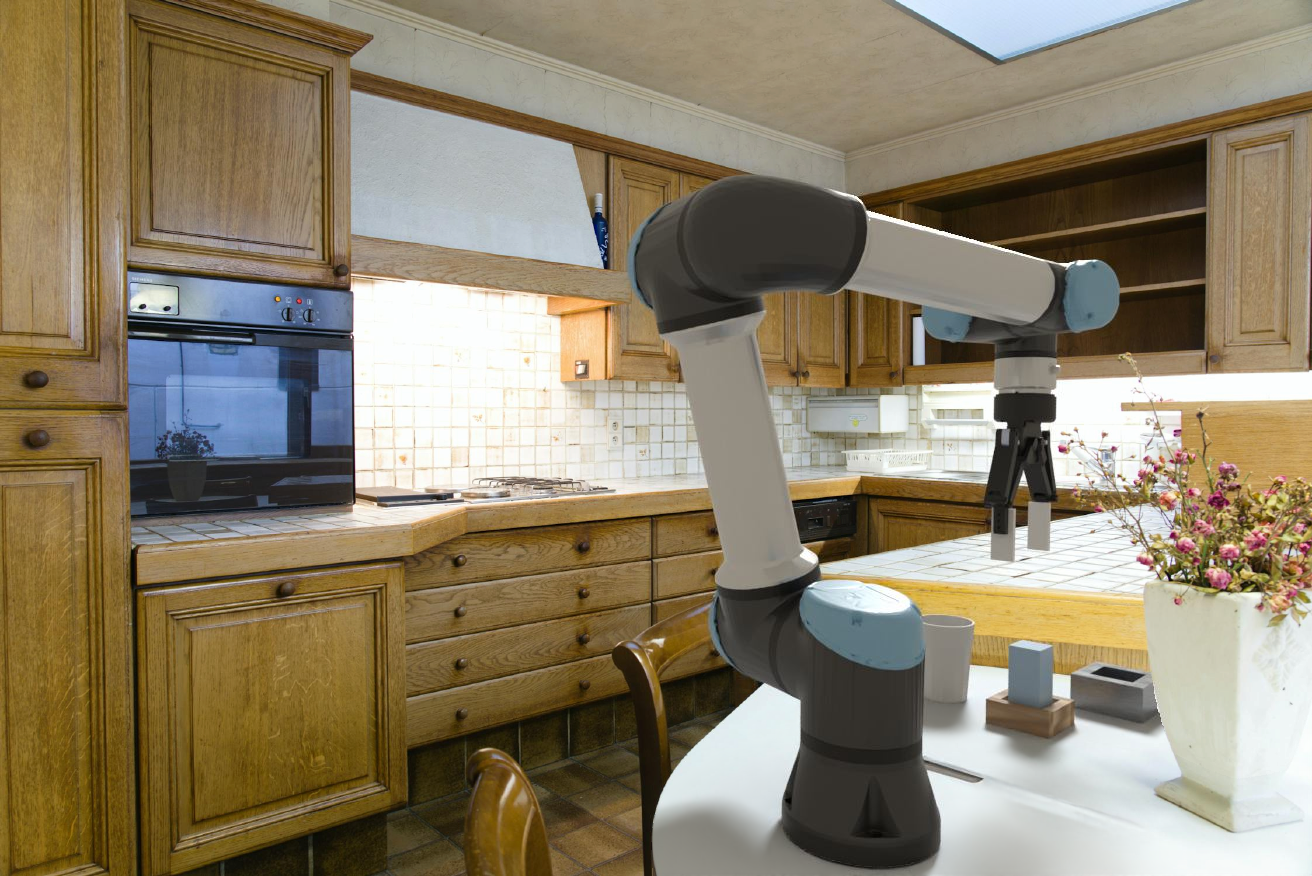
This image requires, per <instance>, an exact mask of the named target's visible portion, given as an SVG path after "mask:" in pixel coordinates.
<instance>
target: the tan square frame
mask: <svg viewBox="0 0 1312 876" xmlns="http://www.w3.org/2000/svg"><path fill="white" fill-rule="evenodd" d="M1075 710H1076V708H1075V700H1072V699H1070V698H1067V697H1064V696H1058V695H1054V694H1053V697H1052V705H1050V706H1048V707H1046V708H1044V709H1039V708H1035V707H1031V706H1027V705H1023V704H1019V703H1015V702H1011V701H1008V688H1006V689H1004V690H1002V691H1000V692H997V693H996V694H995V693H994V694H993V695H991V696H988V697H987V698H985V723H986V724H991V725H994V726H998V727H1002V728H1006V729H1010V730H1013V731H1016V732H1017V731H1018V732H1021V733H1025V734H1028V735H1032V736H1036V737H1039V738H1044V739H1046V740H1047V739H1048V740H1050V739H1052V738H1053V737H1054V736H1056V735H1058V734H1060V733H1061V732H1063V731H1065V730H1066V729H1068V728H1069V727H1071V726H1073V725H1075Z"/></svg>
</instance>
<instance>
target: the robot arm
mask: <svg viewBox="0 0 1312 876" xmlns="http://www.w3.org/2000/svg"><path fill="white" fill-rule="evenodd" d="M626 273H627V277H628V281H629V284H630V286H631V289H632V291H633V293H634V295H635V297H636V298H637V299H638V301H639V302H640V303H641V304H643V305H644V306H645V307H646V308H648V309H649V310H650V311H652V313H653V314H654V319H655V323H656V327H657V331H658V335H659V338H660V339H661V340H663V341H665V342H666V343H667V344H669V345H670V346H672V347H674V348H675V350H676V351H677V352H676V353H677V355H678V359H679V365H680V369H681V372H682V377H683V381H684V385H685V390H686V395H687V399H688V404H689V409H690V413H691V418H692V422H693V426H694V430H695V435H696V439H697V443H698V448H699V453H700V456H701V457H700V458H701V461H702V465H703V471H704V474H705V479H706V483H707V484H706V485H707V487H708V492H709V498H710V501H711V504H712V505H711V506H712V509H713V510H712V511H713V514H714V519H715V523H716V527H717V533H718V537H719V541H720V545H721V550H722V555H723V558H724V559H723V562H722V563H721V564H720V566H719V568H718V569H717V571H716V572H715V575H714V582H715V585H716V590H715V593H714V599H713V601H712V602H711V603H710V604H709V609H708V611H709V612H708V629H709V634H710V636H711V639H712V643H713V645H714V647H715V649H716V650H717V652H718V653H719V654H720V656H721V657H722V659H724V660H725V662H727V663H728V665H730V666H732V667H733V668H735V669H736V670H737V671H738V672H740V673H741V674H742V675H744V676H747V677H749V678H751V679H752V680H754V681H757V682H761V683H764V684H766V685H768V686H770V687H772V688H774V689H777V690H778V691H781V693H784V694H787V695H789V696H791V697H792V698H794V699H797V700H799V701H800V706H799V707H800V711H799V712H800V715H799V717H800V719H799V720H800V722H799V725H800V726H799V731H800V733H799V734H800V736H799V741H800V742H799V748H798V751H797V754H796V757H795V760H794V763H793V764H792V765H793V766H792V768H791V770H790V775H789V776H788V780H787V783H786V787H785V790H784V792H783V794H782V799H781V821H780V822H781V827H782V829H783V832H784V833H785V834H786V836H787V838H788V839H789V840H791V842H793V843H794V844H796V845H797V846H798V847H799V848H801V849H803V850H805V851H807V852H808V853H811V854H812V855H815V856H818V857H820V858H822V859H826V860H828V861H832V862H836V863H840V864H845V865H851V866H856V867H857V866H858V867H863V868H864V867H865V868H866V867H867V868H894V867H895V868H896V867H903V866H909V865H913V864H916V863H919V862H922V861H925V860H926V859H928V858H930V857H931V856H933V855H934V854H935V853H936V852H937V851H938V849H939V848H940V846H941V843H942V842H941V841H942V840H941V839H942V838H941V837H942V834H941V832H942V823H941V822H942V819H941V818H942V817H941V813H940V810H939V806H938V805H937V801H936V798H935V794H934V790H933V786H932V784H931V780H930V776H929V774H928V770H927V769H926V767H925V764H924V761H923V759H924V757H923V736H924V735H923V733H924V731H923V730H924V703H925V702H924V701H925V698H924V672H925V653H926V651H925V648H926V643H925V639H924V636H923V618H922V615H923V614H922V611H921V609H920V608H919V606H918V605H917V603H916V602H915V601H913V600H912V599H911V598H910V597H909V596H907V595H905V594H904V593H902V592H899V591H898V590H894V589H893V588H890V587H886V586H883V585H880V584H876V583H864V582H862V581H861V580H860V581H859V580H853V579H823V576H822V572H821V566H820V561H819V557H818V555H817V554H816V553H815V552H813V551H811V550H810V549H809V548H807V547H806V546H803V544H802V543H801V539H800V534H799V529H798V526H797V520H796V516H795V513H794V511H795V510H794V506H793V502H792V497H791V493H790V487H789V484H788V477H787V474H786V469H785V464H784V459H783V455H782V450H781V446H780V441H779V436H778V435H779V434H778V431H777V426H776V423H775V418H774V412H773V407H772V404H771V403H772V402H771V398H770V394H769V389H768V385H767V381H766V375H765V370H764V366H763V361H762V356H761V352H760V346H759V342H758V338H757V337H758V336H757V329H758V327H759V326H760V324H761V322H762V321H763V319H764V318H765V316H766V315H767V310H766V306H765V301H764V296H765V295H770V294H771V295H772V294H779V293H788V292H789V293H790V292H805V293H813V294H818V295H822V296H823V295H824V296H833V295H836V294H838V293H840V292H842V291H843V290H844V289H845V290H848V291H849V290H851V291H854V292H860V293H863V294H868V295H873V296H874V295H875V296H878V297H882V298H883V297H884V298H888V299H892V300H897V301H902V302H906V303H911V304H916V305H919V306H920V305H921V321H922V324H923V328H924V329H925V331H926V332H927V333H928V334H929V335H930V337H932V338H935V339H937V340H942V341H947V342H948V341H949V342H950V343H952V344H954V343H956V342H959V343H976V344H990V345H994V365H993V366H994V369H993V370H994V371H993V389H994V390H996V391H998V393H996V394H995V396H993V421H994V422H996V423H1006V428H996V429H995V440H994V450H993V455H992V457H991V458H992V459H991V464H990V469H989V474H988V477H987V483H986V488H985V493H984V498H983V507H984V508H991V519H990V521H991V522H990V560H992V561H993V560H995V561H1002V562H1004V561H1005V562H1009V563H1010V562H1015V560H1016V554H1015V553H1016V523H1017V522H1016V521H1017V520H1016V515H1017V512H1016V511H1017V508H1013V506H1014V503H1015V500H1016V496H1017V493H1018V489H1019V486H1020V484H1021V479H1022V476H1023V473H1024V476H1025V480H1026V481H1025V482H1026V484H1027V488H1028V491H1029V494H1030V499H1031V501H1028V503H1027V504H1028V505H1027V506H1028V507H1027V541H1026V542H1027V547H1026V548H1027V550H1031V551H1032V550H1033V551H1040V552H1041V551H1042V552H1043V551H1044V552H1050V550H1051V517H1052V516H1051V512H1052V511H1051V509H1052V506H1051V505H1052V503H1058V501H1059V495H1058V491H1057V486H1056V485H1057V483H1056V477H1055V472H1054V471H1055V469H1054V462H1053V455H1052V450H1051V449H1052V447H1051V434H1052V433H1051V431H1050V429H1042V424H1043V423H1044V424H1046V423H1047V424H1052V423H1054V422H1055V421H1056V419H1057V396H1056V395H1055V394H1054V393H1052V391H1053V390H1056V389H1057V376H1058V375H1057V374H1060V373H1061V371H1062V367H1061V366H1060V365H1057V364H1058V352H1057V350H1058V349H1057V348H1058V334H1067V333H1075V334H1080V333H1081V332H1083V331H1084V332H1085V331H1089V330H1095V329H1096V330H1097V329H1101V328H1103V327H1105V326H1106V325H1107V324H1109V323H1110V322H1112V320H1113V319H1114V317H1115V315H1116V314H1117V312H1118V309H1119V306H1120V294H1121V289H1120V288H1121V287H1120V283H1119V279H1118V277H1117V275H1116V274H1117V273H1115V271H1114V270H1113V268H1112V267H1111V266H1110V265H1108V264H1107V263H1106V262H1104V261H1102V260H1099V259H1088V260H1080V259H1078V260H1074V261H1072V262H1069V263H1059V262H1055V261H1052V260H1051V261H1050V260H1047V259H1042V258H1038V257H1034V256H1031V255H1027V254H1023V253H1020V252H1017V251H1013V250H1011V249H1010V250H1009V249H1005V248H1002V247H998V246H995V245H991V244H987V243H984V242H980V241H977V240H974V239H969V238H966V237H963V236H959V235H955V234H951V233H948V232H945V231H939V230H938V229H933V228H930V227H926V226H922V225H919V224H915V223H910V222H908V221H904V220H901V219H897V218H893V217H891V216H890V217H889V216H886V215H883V214H879V213H875V212H873V211H872V212H871V211H869V210H867V208H866V206H865V204H864V202H862V200H861V199H859V198H858V197H857V196H854V195H853V194H849V193H845V192H842V191H838V190H835V189H831V188H828V187H824V186H820V185H815V184H811V183H808V182H804V181H799V180H797V179H796V180H795V179H789V178H782V177H779V176H777V177H776V176H772V175H763V174H737V175H731V176H725V177H723V178H719V179H717V180H715V181H713V182H711V183H709V184H708V185H706V186H704V187H702V188H699V189H698V190H695V191H692V192H691V193H687V194H686V195H684V196H681V197H680V198H677V199H675V200H672V201H669V202H667V203H664V204H663V205H662V206H660V207H658V208H657V209H656V210H655V211H653V213H651V214H650V215H649V216H648V217H647V218H645V219H644V220H643V221H642V222H641V223H640V224H639V226H638V227H637V229H635V232H634V234H633V235H632V237H631V240H630V242H629V244H628V249H627V256H626Z"/></svg>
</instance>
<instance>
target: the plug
mask: <svg viewBox="0 0 1312 876" xmlns="http://www.w3.org/2000/svg"><path fill="white" fill-rule="evenodd" d="M1007 671H1008V674H1007V675H1008V677H1007V679H1008V680H1007V681H1008V682H1007V685H1008V687H1007V689H1008V701H1011V702H1015V703H1019V704H1023V705H1027V706H1031V707H1035V708H1039V709H1044V708H1046V707H1048V706H1050V705H1052V697H1053V695H1054V694H1053V693H1054V692H1053V691H1054V690H1053V688H1054V687H1053V686H1054V685H1053V684H1054V683H1053V681H1054V677H1053V676H1054V673H1053V672H1054V645H1053V644H1048V643H1047V644H1046V643H1040V642H1036V641H1030V640H1026V639H1025V640H1024V639H1021V640H1019V641H1016V642H1012V643H1011V644H1008V670H1007Z"/></svg>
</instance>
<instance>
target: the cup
mask: <svg viewBox="0 0 1312 876" xmlns="http://www.w3.org/2000/svg"><path fill="white" fill-rule="evenodd" d="M922 618H923V636H924V639H925V643H926V648H925V651H926V653H925V672H924V699H926V700H930V701H932V702H938V703H941V704H944V703H945V704H958V703H959V704H960V703H963V702H965V701H967V700H968V690H969V681H970V680H969V679H970V670H971V669H970V668H971V658H972V657H971V656H972V650H973V649H972V648H973V643H974V636H975V635H974V634H975V626H976V625H975V620H973V619H970V618H967V617H963V616H958V615H953V614H952V615H951V614H943V613H942V614H939V613H936V614H935V613H933V614H931V613H930V614H929V613H928V614H922Z"/></svg>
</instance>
